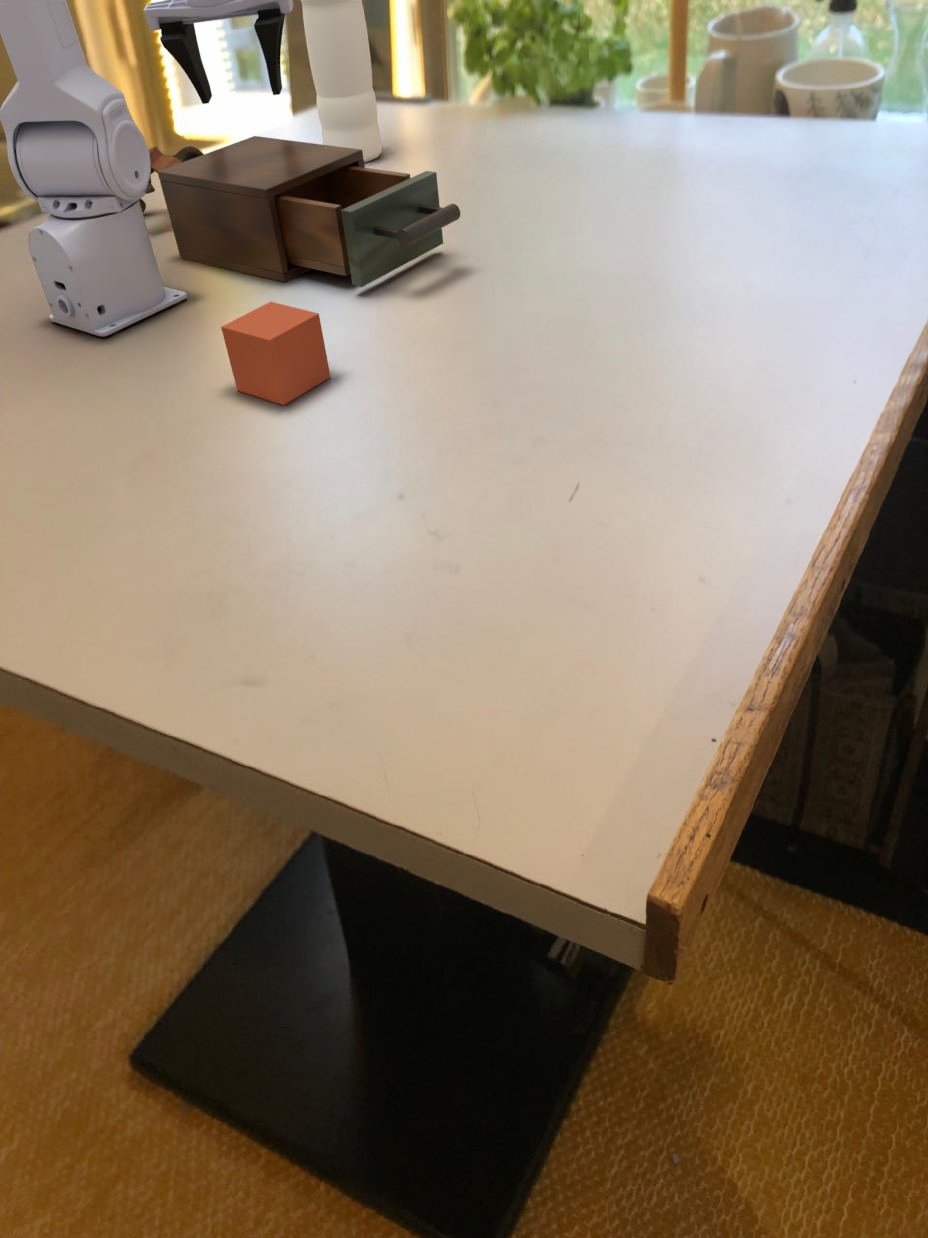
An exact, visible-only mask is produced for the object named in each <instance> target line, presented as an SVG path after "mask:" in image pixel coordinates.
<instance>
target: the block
mask: <svg viewBox="0 0 928 1238" xmlns="http://www.w3.org/2000/svg"><path fill="white" fill-rule="evenodd" d="M220 329H221V332H222V336H223V340H224V344H225V348H226V352H227V356H228V360H229V365H230V368H231V371H232V375H233V379H234V384H235V387H236V391H237V392H241V393H244V394H247V395H249V396H253V397H257V398H260V399H263V400H266V401H268V402H269V401H270V402H273V403H275V404H277V405H278V404H279V405H281V406H285V405H288V403H290V402H292V401H293V400H295V399H297V398H298V397H300V396H302V395H304V394H305V393H307V392H309V391H310V390H312V389H314V388H315V387H317V386H318V385H320V384H322V383H323V382H325V381H327V380H329V379H330V378H331V371H330V366H329V360H328V355H327V350H326V344H325V339H324V333H323V328H322V323H321V318H320V313H319V312H314V311H310V310H307V309H302V308H298V307H295V306H290V305H286V304H283V303H279V302H275V301H269V302H267V303H265V304H263V305H261V306H259V307H257V308H255V309H253V310H251V311H249V312H247V313H245V314H244V315H241V316H240V317H238V318H235V319H234V320H232V321H230V322H227V323H226V324H224V325H222V326H221V327H220Z"/></svg>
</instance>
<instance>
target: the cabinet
mask: <svg viewBox="0 0 928 1238" xmlns="http://www.w3.org/2000/svg"><path fill="white" fill-rule="evenodd" d="M203 154H204V155H201V156H199V157H196V158H193V159H190V160H188V161H185V162H182V163H180V164H177V165H174V166H171V167H169V168H166V169H163V170H160V171H158V173H157V175H158V180H159V183H160V187H161V191H162V195H163V198H164V202H165V205H166V209H167V213H168V217H169V221H170V224H171V228H172V232H173V235H174V236H173V237H174V239H175V242H176V246H177V250H178V254H179V257H180V259H183V260H187V261H191V262H195V263H200V264H205V265H209V266H213V267H217V268H221V269H225V270H229V271H235V272H238V273H243V274H248V275H252V276H256V277H260V278H263V279H270V280H273V281H277V282H281V283H286V282H288V281H290V280H292V279H294V278H296V277H298V276H300V275H302V274H304V273H306V272H308V271H310V270H312V269H311V268H307V267H302V266H297V265H293V264H288V263H287V261H286V256H285V251H284V246H283V241H282V236H281V231H280V226H279V221H278V216H277V211H276V206H275V201H274V197H273V196H276V195H278V194H280V193H283V192H285V191H287V190H290V189H292V188H294V187H297V186H299V185H302V184H304V183H306V182H309V181H311V180H313V179H316V178H318V177H320V176H323V175H325V174H328V173H330V172H332V171H335V170H337V169H339V168H342V167H344V166H346V165H350V166H357V167H364V168H366V166H365V162H364V159H363V152H362V150H361V149H353V148H345V147H337V146H329V145H323V144H322V143H321V144H320V143H315V142H314V143H312V142H304V141H298V140H290V139H289V140H288V139H282V138H273V137H267V136H258V135H253V136H250V137H248V138H245V139H242V140H239V141H237V142H235V143H232V144H229V145H226V146H223V147H221V148H218V149H215V150H212V151H210V152H206V153H203Z"/></svg>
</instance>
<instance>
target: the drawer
mask: <svg viewBox="0 0 928 1238" xmlns="http://www.w3.org/2000/svg"><path fill="white" fill-rule="evenodd" d="M437 174H438V173H437V172H436V171H429V170H425V171H423V172H421V173H419V174H416V175H414V176H412V177H411V174H410V173H406V172H398V171H392V170H385V169H378V168H370V167H365V168H364V167H357V166H350V165H346V166H344V167H342V168H339V169H337V170H335V171H332V172H330V173H328V174H325V175H323V176H320V177H318V178H316V179H313V180H311V181H309V182H306V183H304V184H302V185H299V186H297V187H294V188H292V189H290V190H287V191H285V192H283V193H280V194H278V195H276V196H273V197H274V201H275V206H276V211H277V216H278V221H279V226H280V231H281V236H282V241H283V246H284V251H285V256H286V261H287V263H288V264H293V265H297V266H302V267H307V268H311V269H310V270H316V271H320V272H321V271H322V272H326V273H330V274H335V275H338V276H339V275H340V276H344V277H348V276H349V275H350V278H351V284H352V285H353V286H356V287H362V288H363V287H365V286H367V285H369V284H370V283H373V282H374V281H376V280H378V279H380V278H382V277H384V276H386V275H388V274H389V273H391V272H393V271H395V270H397V269H399V268H400V267H403V266H404V265H406V264H408V263H409V262H411V261H414V260H416V259H417V258H419V257H421V256H422V255H425V254H426V253H429V252H430V251H432V250H434V249H435V248H436V249H437V247H439V246H441V245H443V244H444V239H443V228H444V227H446V226H448V225H450V224H452V223H454V222H456V221H458V220H459V219H460V218H461V210H460V207H459V206H458V204H456V203H450V204H448V205H446V206H444V207H441V205H440V195H439V186H438V185H439V184H438V175H437Z"/></svg>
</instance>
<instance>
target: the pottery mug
mask: <svg viewBox="0 0 928 1238" xmlns="http://www.w3.org/2000/svg"><path fill="white" fill-rule="evenodd" d="M148 150H149V154H150V161H151V173H150V179H149V182H148V185H147V188H146V190H145V195H146V194H147V195H148V194H152V193H155V192H156V189H155V187H154V185H153V184H152V174H154V173H156V174H158V171H160V170H163V169H166V168H169V167H171V166H174V165H177V164H180V163H182V162H185V161H188V160H190V159H193V158H196V157H199V156H201V155H204V154H205V153H204V152H203V151H201V150H200V149H199V148H197V147H195V146H185V147H183V148H181V149H180V150H179V151H178V152H177V153H175V154H173V155H168V154H163V152H161V150H160V149H159V147H158V146H157V145H154V146H152V147H150V148H148ZM139 202H140V206H141V209H142V213H143V214H144V212H145V210H146V208H147V204H146V201H145V200H144V199H142V198H140V199H139Z"/></svg>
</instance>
